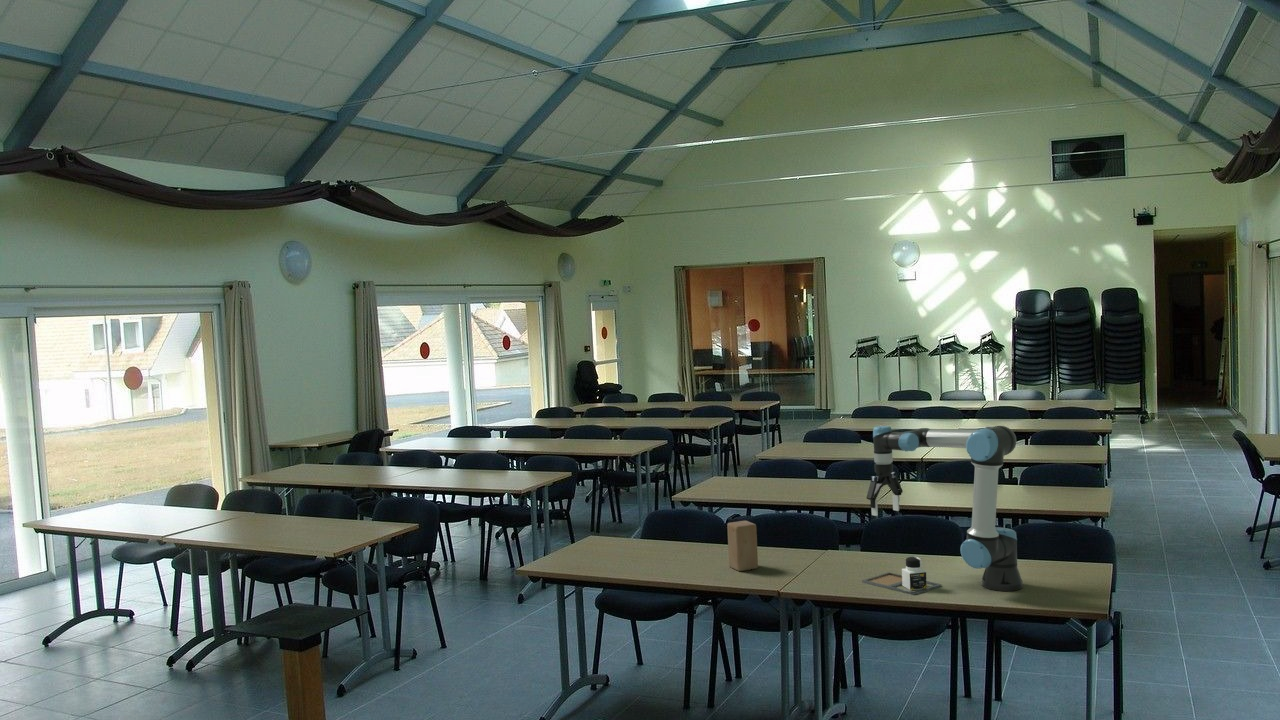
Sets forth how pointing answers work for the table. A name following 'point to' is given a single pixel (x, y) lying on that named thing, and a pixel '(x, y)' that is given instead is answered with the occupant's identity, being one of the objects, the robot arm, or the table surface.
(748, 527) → the wooden block
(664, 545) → the table surface
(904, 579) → the medicine bottle
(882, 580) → the grey divided frame
